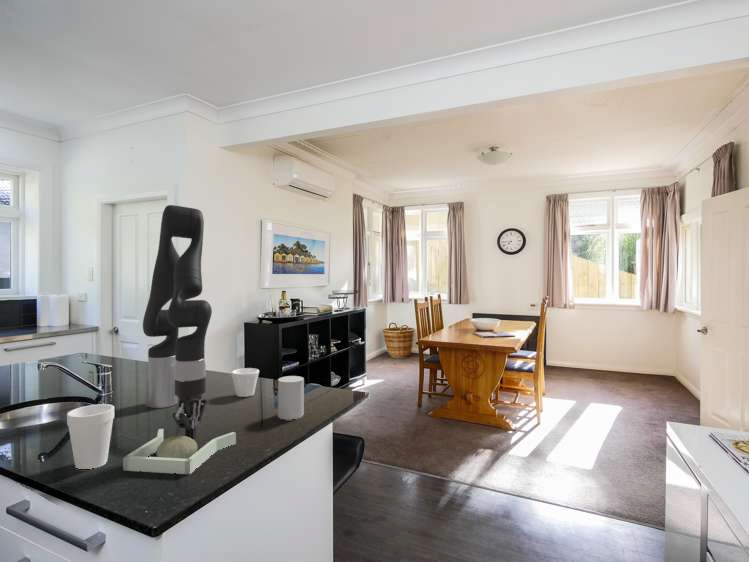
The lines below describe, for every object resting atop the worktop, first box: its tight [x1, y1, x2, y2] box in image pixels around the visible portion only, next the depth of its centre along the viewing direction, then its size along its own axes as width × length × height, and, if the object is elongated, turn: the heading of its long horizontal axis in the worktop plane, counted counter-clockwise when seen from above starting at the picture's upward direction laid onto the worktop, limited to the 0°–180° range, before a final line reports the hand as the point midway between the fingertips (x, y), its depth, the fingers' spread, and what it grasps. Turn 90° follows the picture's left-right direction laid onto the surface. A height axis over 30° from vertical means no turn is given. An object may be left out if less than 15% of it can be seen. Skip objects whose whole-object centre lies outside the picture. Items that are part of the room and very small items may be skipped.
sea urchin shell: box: [155, 435, 199, 459], centre depth 104 cm, size 9×8×8 cm
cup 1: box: [231, 367, 260, 398], centre depth 157 cm, size 10×10×9 cm
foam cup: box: [66, 403, 115, 470], centre depth 100 cm, size 10×9×13 cm
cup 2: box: [277, 375, 305, 421], centre depth 135 cm, size 8×8×12 cm
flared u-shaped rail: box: [122, 428, 237, 475], centre depth 105 cm, size 22×18×3 cm
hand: (190, 441), depth 110 cm, fingers closed
